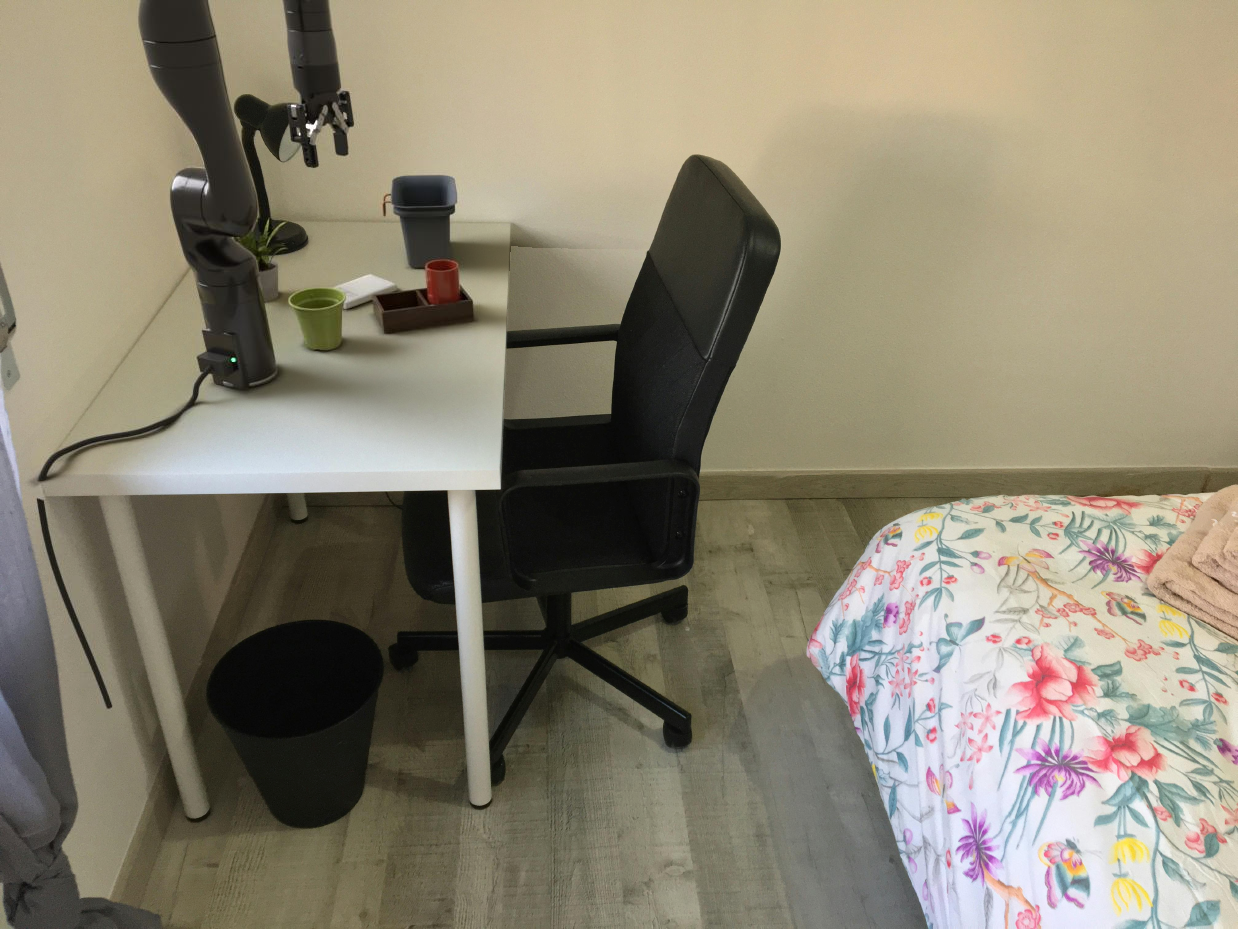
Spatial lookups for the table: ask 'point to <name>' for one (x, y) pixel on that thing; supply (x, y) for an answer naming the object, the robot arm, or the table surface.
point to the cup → (442, 281)
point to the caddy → (418, 310)
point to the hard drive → (364, 289)
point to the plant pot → (319, 316)
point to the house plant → (264, 261)
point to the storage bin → (424, 215)
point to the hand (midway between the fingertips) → (327, 160)
